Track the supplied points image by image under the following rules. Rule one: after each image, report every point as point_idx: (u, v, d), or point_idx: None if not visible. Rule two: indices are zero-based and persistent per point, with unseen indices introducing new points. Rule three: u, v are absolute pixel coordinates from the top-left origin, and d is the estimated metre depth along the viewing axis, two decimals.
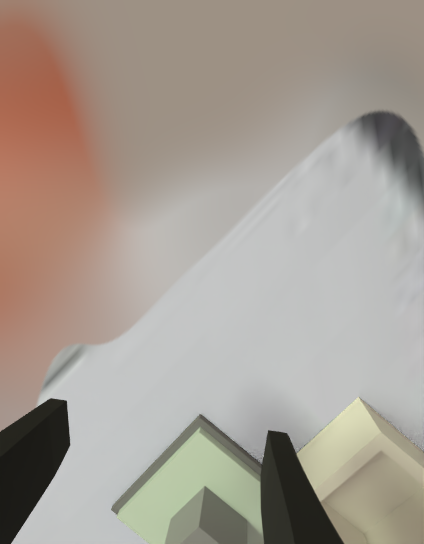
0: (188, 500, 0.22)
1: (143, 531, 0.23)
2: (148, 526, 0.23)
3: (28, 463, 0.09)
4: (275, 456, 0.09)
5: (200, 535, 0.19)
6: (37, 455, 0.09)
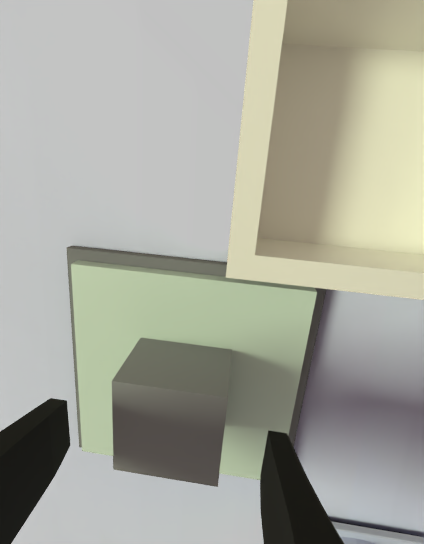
0: None
1: None
2: None
3: (28, 463, 0.09)
4: (275, 456, 0.09)
5: (125, 392, 0.11)
6: (37, 455, 0.09)
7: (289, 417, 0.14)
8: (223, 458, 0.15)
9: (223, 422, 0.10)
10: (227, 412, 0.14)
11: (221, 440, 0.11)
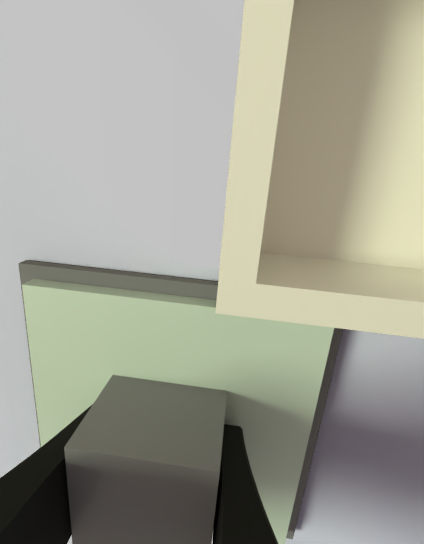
0: None
1: None
2: None
3: None
4: (222, 448, 0.09)
5: (83, 462, 0.08)
6: None
7: (298, 471, 0.11)
8: None
9: (213, 502, 0.08)
10: None
11: (211, 523, 0.08)
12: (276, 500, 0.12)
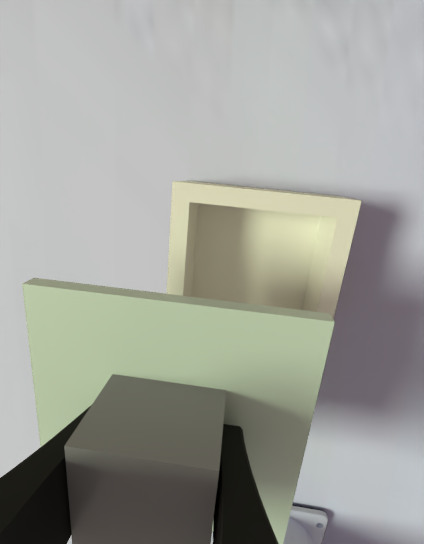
0: None
1: None
2: None
3: None
4: (222, 448, 0.09)
5: (83, 460, 0.08)
6: None
7: (296, 470, 0.11)
8: None
9: (213, 500, 0.08)
10: None
11: (210, 521, 0.08)
12: (275, 499, 0.12)
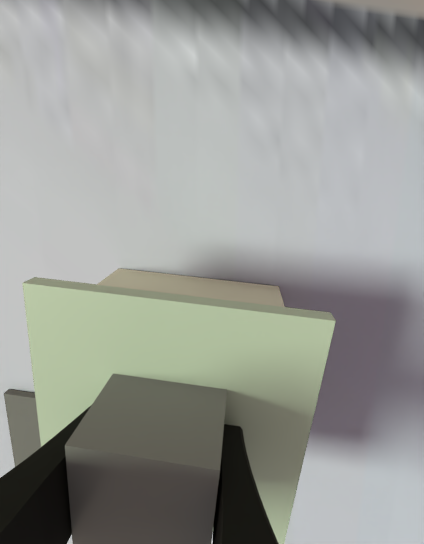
0: None
1: None
2: None
3: None
4: (222, 448, 0.09)
5: (84, 460, 0.08)
6: None
7: (297, 470, 0.11)
8: None
9: (214, 500, 0.08)
10: None
11: (211, 521, 0.08)
12: (276, 499, 0.12)
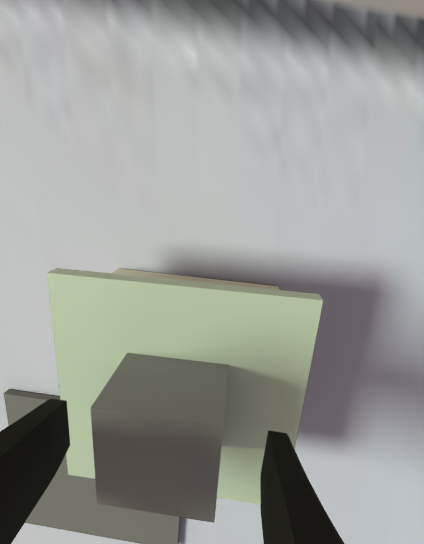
0: None
1: None
2: None
3: (28, 463, 0.09)
4: (275, 456, 0.09)
5: (106, 420, 0.09)
6: (37, 455, 0.09)
7: (293, 437, 0.12)
8: (222, 481, 0.13)
9: (219, 453, 0.09)
10: (225, 433, 0.13)
11: (217, 472, 0.09)
12: None
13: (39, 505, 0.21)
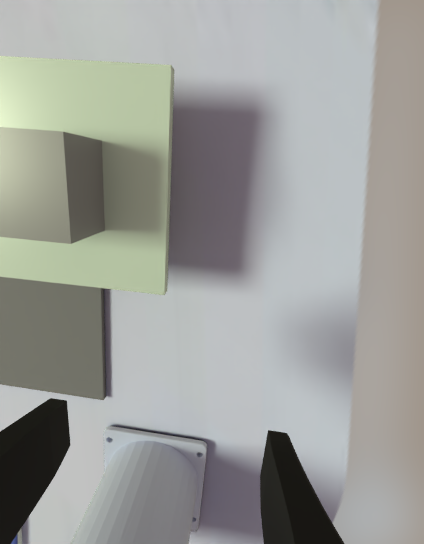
0: None
1: (17, 268, 0.16)
2: (15, 256, 0.16)
3: (28, 463, 0.09)
4: (275, 456, 0.09)
5: None
6: (37, 455, 0.09)
7: (164, 216, 0.14)
8: (110, 270, 0.15)
9: (63, 162, 0.11)
10: (106, 215, 0.14)
11: (65, 186, 0.11)
12: (152, 248, 0.15)
13: None
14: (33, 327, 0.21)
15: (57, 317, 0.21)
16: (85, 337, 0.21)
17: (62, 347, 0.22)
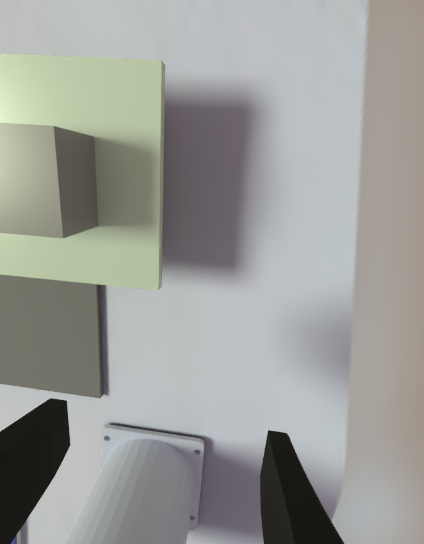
0: None
1: (12, 265, 0.16)
2: (9, 253, 0.16)
3: (28, 463, 0.09)
4: (275, 456, 0.09)
5: None
6: (37, 455, 0.09)
7: (157, 211, 0.14)
8: (104, 266, 0.15)
9: (54, 157, 0.11)
10: (100, 211, 0.15)
11: (57, 180, 0.11)
12: (145, 243, 0.15)
13: None
14: (29, 325, 0.21)
15: (53, 315, 0.21)
16: (81, 335, 0.21)
17: (59, 345, 0.22)
